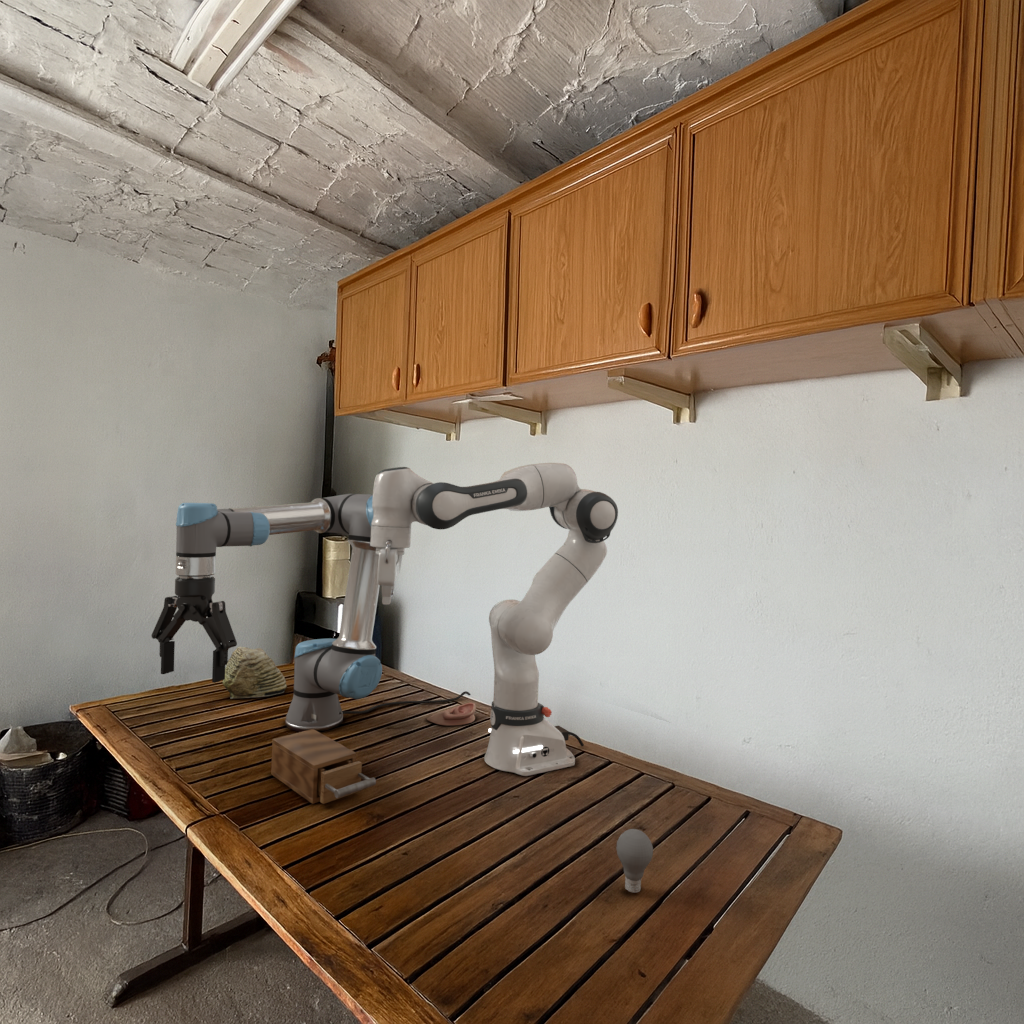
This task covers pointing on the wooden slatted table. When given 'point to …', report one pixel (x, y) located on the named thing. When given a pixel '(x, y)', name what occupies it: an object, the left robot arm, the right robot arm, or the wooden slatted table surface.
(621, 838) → the light bulb
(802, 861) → the wooden slatted table surface
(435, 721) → the anatomical model
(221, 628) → the left robot arm
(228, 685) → the fossil
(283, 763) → the cabinet
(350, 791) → the drawer
